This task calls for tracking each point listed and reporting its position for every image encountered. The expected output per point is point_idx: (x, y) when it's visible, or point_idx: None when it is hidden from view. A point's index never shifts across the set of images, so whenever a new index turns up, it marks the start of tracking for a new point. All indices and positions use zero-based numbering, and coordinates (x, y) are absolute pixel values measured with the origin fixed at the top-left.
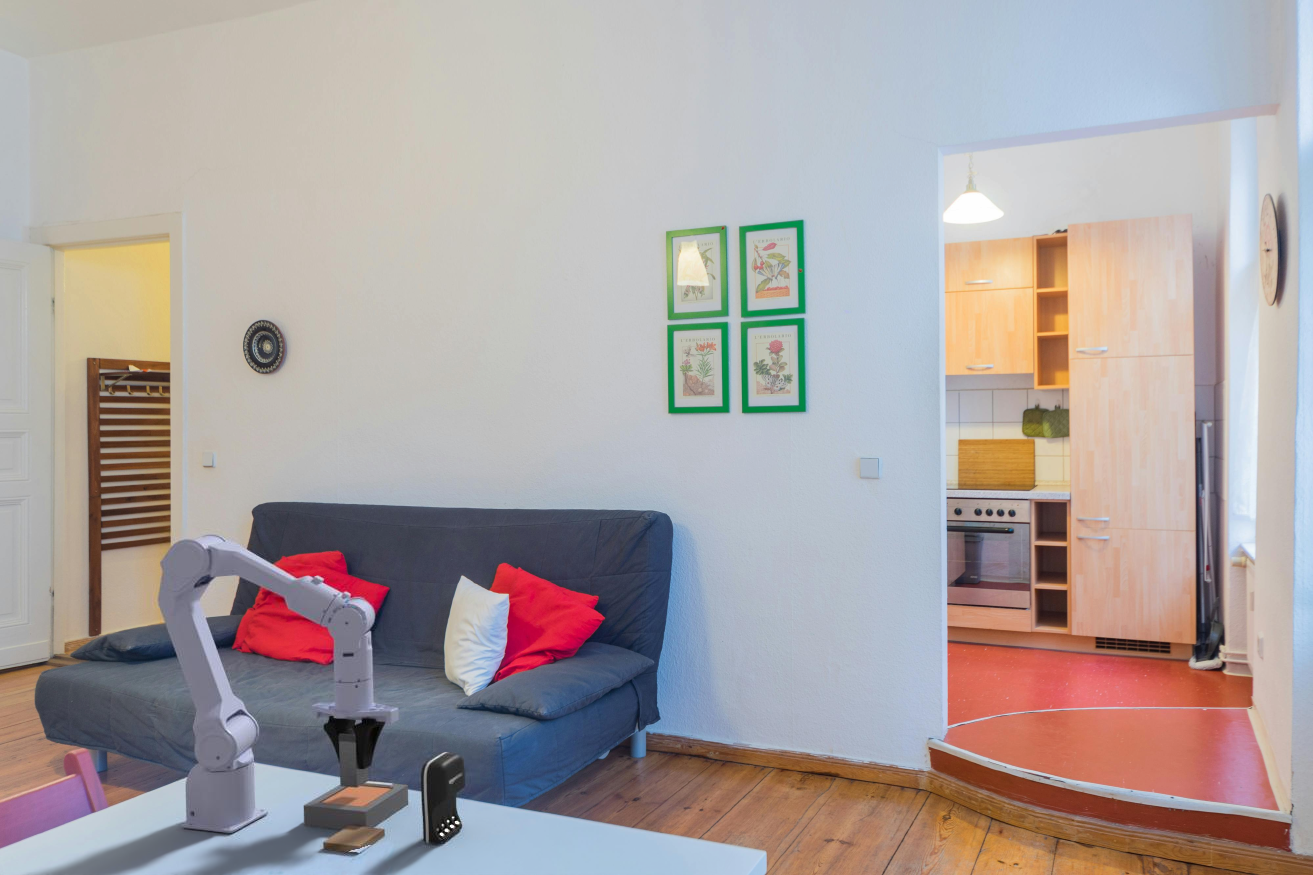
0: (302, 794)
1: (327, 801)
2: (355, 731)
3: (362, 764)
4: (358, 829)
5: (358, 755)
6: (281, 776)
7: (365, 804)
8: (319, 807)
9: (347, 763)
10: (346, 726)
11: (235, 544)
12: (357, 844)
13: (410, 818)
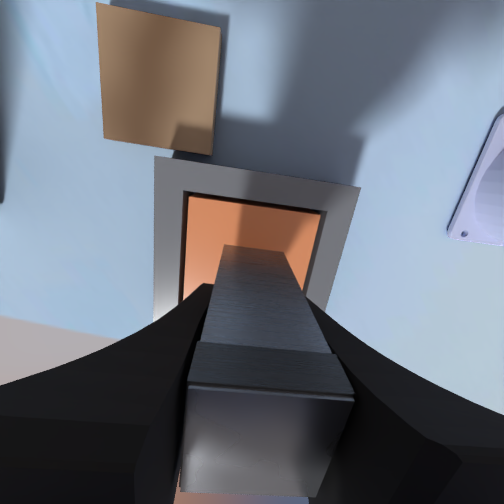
0: (406, 328)
1: (306, 222)
2: (138, 397)
3: (198, 287)
4: (171, 129)
5: (206, 303)
6: (474, 392)
7: (190, 212)
8: (309, 180)
9: (260, 280)
10: (342, 502)
11: None
12: (111, 19)
13: (116, 240)
